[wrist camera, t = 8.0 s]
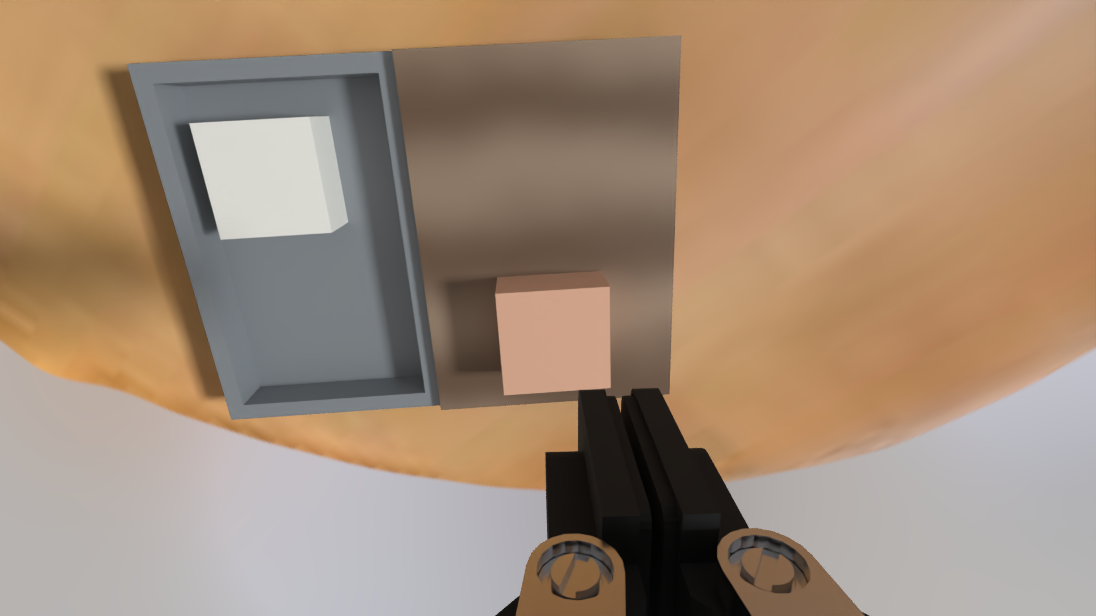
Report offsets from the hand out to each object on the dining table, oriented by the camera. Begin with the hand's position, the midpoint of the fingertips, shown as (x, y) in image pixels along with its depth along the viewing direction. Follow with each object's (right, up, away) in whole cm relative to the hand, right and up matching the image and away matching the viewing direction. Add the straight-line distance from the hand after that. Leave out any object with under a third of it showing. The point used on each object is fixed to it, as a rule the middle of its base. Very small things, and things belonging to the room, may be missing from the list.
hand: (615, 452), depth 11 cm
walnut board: (-2, +7, +17) cm, 18 cm away
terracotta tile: (-1, +2, +15) cm, 15 cm away
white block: (-14, +9, +12) cm, 20 cm away
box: (-13, +6, +16) cm, 22 cm away
